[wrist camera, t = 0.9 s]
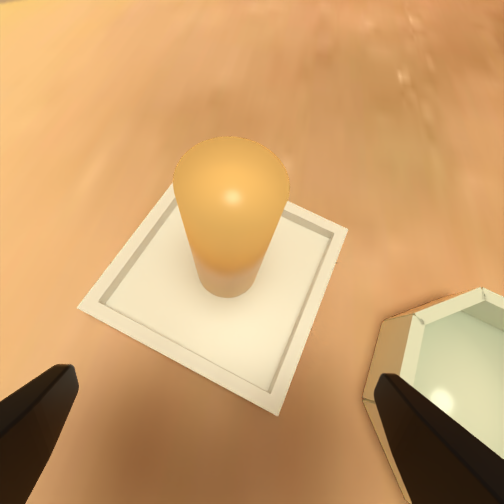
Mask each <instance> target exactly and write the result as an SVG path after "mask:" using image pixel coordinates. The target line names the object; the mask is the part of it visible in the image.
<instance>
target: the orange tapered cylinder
mask: <svg viewBox="0 0 504 504" xmlns="http://www.w3.org/2000/svg"><path fill="white" fill-rule="evenodd" d="M173 189H174V194H175V198H176V201H177V204H178V208H179V211H180V215H181V218H182V221H183V225H184V228H185V232H186V235H187V239H188V242H189V245H190V249H191V252H192V256H193V259H194V262H195V266H196V269H197V273H198V276H199V279H200V282H201V283H202V285H203V286H204V288H205V289H206V290H207V291H209V292H210V293H212V294H213V295H215V296H218V297H223V298H232V297H237V296H239V295H241V294H243V293H245V292H246V291H247V290H248V289H249V288H250V287H251V286H252V284H253V283H254V281H255V278H256V276H257V273H258V271H259V269H260V266H261V264H262V261H263V259H264V256H265V254H266V252H267V249H268V247H269V244H270V242H271V239H272V237H273V235H274V232H275V230H276V227H277V225H278V222H279V220H280V218H281V215H282V213H283V210H284V208H285V205H286V203H287V201H288V197H289V191H290V183H289V177H288V174H287V171H286V169H285V167H284V165H283V164H282V162H281V161H280V160H279V158H278V157H277V156H276V155H275V154H274V153H273V152H272V151H270V150H269V149H268V148H266V147H265V146H263V145H261V144H259V143H257V142H254V141H252V140H249V139H245V138H240V137H231V136H229V137H216V138H212V139H208V140H206V141H203V142H201V143H199V144H197V145H195V146H194V147H192V148H191V149H189V150H188V151H187V152H186V153H185V154H184V155H183V156H182V158H181V159H180V161H179V162H178V164H177V166H176V168H175V172H174V176H173Z"/></svg>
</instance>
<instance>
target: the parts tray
mask: <svg viewBox="0 0 504 504" xmlns="http://www.w3.org/2000/svg"><path fill="white" fill-rule="evenodd" d="M347 231H348V229H346V228H344V227H342V226H340V225H338V224H336V223H334V222H332V221H329V220H327V219H325V218H323V217H321V216H319V215H317V214H314V213H312V212H310V211H308V210H306V209H304V208H302V207H299V206H297V205H295V204H293V203H291V202H289V201H287V203H286V205H285V208H284V210H283V213H282V215H281V218H280V220H279V222H278V225H277V227H276V230H275V232H274V235H273V237H272V239H271V242H270V244H269V247H268V249H267V252H266V254H265V256H264V259H263V261H262V264H261V266H260V269H259V271H258V273H257V276H256V278H255V281H254V283H253V284H252V286H251V287H250V288H249V289H248V290H247V291H246V292H245V293H243V294H241V295H239V296H237V297H232V298H223V297H218V296H215V295H213V294H212V293H210V292H209V291H207V290H206V289H205V288H204V286H203V285H202V283H201V282H200V279H199V276H198V273H197V269H196V266H195V262H194V259H193V256H192V252H191V249H190V245H189V242H188V239H187V235H186V232H185V228H184V225H183V221H182V218H181V215H180V211H179V208H178V204H177V201H176V198H175V194H174V189H173V183H172V184H171V185H170V187H169V188H168V189H167V191H166V192H165V193H164V194H163V196H162V197H161V198H160V200H159V201H158V202H157V204H156V205H155V206H154V208H153V209H152V210H151V211H150V213H149V214H148V215H147V217H146V218H145V219H144V221H143V222H142V223H141V224H140V226H139V227H138V228H137V230H136V231H135V232H134V234H133V235H132V236H131V238H130V239H129V240H128V241H127V243H126V244H125V245H124V247H123V248H122V249H121V251H120V252H119V253H118V254H117V256H116V257H115V258H114V260H113V261H112V262H111V264H110V265H109V266H108V268H107V269H106V270H105V271H104V273H103V274H102V275H101V277H100V278H99V279H98V281H97V282H96V283H95V285H94V286H93V287H92V288H91V290H90V291H89V292H88V294H87V295H86V296H85V298H84V299H83V300H82V301H81V303H80V304H79V305H78V307H77V308H78V309H80V310H82V311H83V312H85V313H87V314H89V315H91V316H93V317H95V318H96V319H98V320H100V321H102V322H104V323H106V324H108V325H109V326H111V327H113V328H115V329H117V330H119V331H120V332H122V333H124V334H126V335H128V336H130V337H132V338H133V339H135V340H137V341H139V342H141V343H143V344H145V345H146V346H148V347H150V348H152V349H154V350H156V351H158V352H159V353H161V354H163V355H165V356H167V357H169V358H170V359H172V360H174V361H176V362H178V363H180V364H182V365H183V366H185V367H187V368H189V369H191V370H193V371H195V372H196V373H198V374H200V375H202V376H204V377H206V378H207V379H209V380H211V381H213V382H215V383H217V384H219V385H220V386H222V387H224V388H226V389H228V390H230V391H232V392H233V393H235V394H237V395H239V396H241V397H243V398H244V399H246V400H248V401H250V402H252V403H254V404H256V405H257V406H259V407H261V408H263V409H265V410H267V411H269V412H270V413H272V414H274V415H276V416H278V415H279V413H280V410H281V407H282V405H283V402H284V399H285V397H286V394H287V391H288V389H289V386H290V383H291V381H292V378H293V375H294V373H295V370H296V367H297V365H298V362H299V359H300V357H301V354H302V351H303V349H304V346H305V343H306V341H307V338H308V335H309V333H310V330H311V327H312V325H313V322H314V319H315V317H316V314H317V311H318V309H319V306H320V303H321V301H322V298H323V295H324V293H325V290H326V287H327V285H328V282H329V279H330V277H331V274H332V271H333V269H334V266H335V263H336V261H337V258H338V255H339V253H340V250H341V247H342V245H343V242H344V239H345V237H346V234H347Z"/></svg>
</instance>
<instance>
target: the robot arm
mask: <svg viewBox="0 0 504 504" xmlns="http://www.w3.org/2000/svg"><path fill="white" fill-rule="evenodd" d="M78 388H79V384H78V380H77V376H76V372H75V368H74V366H73V365H71V364H57V365H54V366H53V367H51V368H50V369H48V370H47V371H45V372H44V373H42V374H41V375H39V376H38V377H36V378H35V379H33V380H32V381H30V382H29V383H27V384H26V385H24V386H23V387H21V388H20V389H18V390H17V391H15V392H14V393H12V394H11V395H9V396H8V397H6V398H5V399H3V400H2V401H0V504H25V503H26V501H27V499H28V497H29V496H30V494H31V492H32V490H33V488H34V486H35V484H36V482H37V481H38V479H39V477H40V475H41V473H42V471H43V469H44V467H45V466H46V464H47V462H48V460H49V458H50V456H51V454H52V451H53V449H54V447H55V445H56V442H57V440H58V438H59V435H60V433H61V431H62V428H63V426H64V424H65V421H66V419H67V417H68V414H69V412H70V410H71V407H72V405H73V402H74V400H75V398H76V395H77V393H78ZM374 400H375V403H376V407H377V410H378V413H379V416H380V419H381V422H382V425H383V429H384V432H385V435H386V438H387V441H388V444H389V447H390V450H391V453H392V456H393V458H394V461H395V464H396V466H397V468H398V471H399V473H400V476H401V478H402V481H403V483H404V485H405V488H406V490H407V493H408V495H409V497H410V500H411V502H412V504H504V459H503V458H501V457H500V456H499V455H498V454H496V453H495V452H494V451H493V450H491V449H490V448H489V447H488V446H486V445H485V444H484V443H483V442H481V441H480V440H479V439H478V438H476V437H475V436H474V435H473V434H471V433H470V432H469V431H468V430H466V429H465V428H464V427H463V426H461V425H460V424H459V423H458V422H456V421H455V420H454V419H452V418H451V417H450V416H449V415H447V414H446V413H445V412H444V411H442V410H441V409H440V408H439V407H437V406H436V405H435V404H434V403H432V402H431V401H430V400H429V399H427V398H426V397H425V396H424V395H422V394H421V393H420V392H419V391H417V390H416V389H415V388H414V387H412V386H411V385H410V384H409V383H407V382H406V381H405V380H404V379H402V378H401V377H400V376H398V375H397V374H395V373H382V374H381V375H380V377H379V379H378V382H377V384H376V387H375V389H374Z"/></svg>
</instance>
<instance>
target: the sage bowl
mask: <svg viewBox="0 0 504 504" xmlns="http://www.w3.org/2000/svg"><path fill="white" fill-rule="evenodd" d="M382 373H395V374H397V375H398V376H400V377H401V378H402V379H404V380H405V381H406V382H407V383H409V384H410V385H411V386H412V387H414V388H415V389H416V390H417V391H419V392H420V393H421V394H422V395H424V396H425V397H426V398H427V399H429V400H430V401H431V402H432V403H434V404H435V405H436V406H437V407H439V408H440V409H441V410H442V411H444V412H445V413H446V414H447V415H449V416H450V417H451V418H452V419H454V420H455V421H456V422H458V423H459V424H460V425H461V426H463V427H464V428H465V429H466V430H468V431H469V432H470V433H471V434H473V435H474V436H475V437H476V438H478V439H479V440H480V441H481V442H483V443H484V444H485V445H486V446H488V447H489V448H490V449H491V450H493V451H494V452H495V453H496V454H498V455H499V456H500V457H501V458H503V459H504V297H503V296H500V295H498V294H496V293H494V292H492V291H490V290H488V289H485V288H483V287H482V288H481V287H479V288H475V289H472V290H468V291H464V292H461V293H457V294H453V295H450V296H446V297H443V298H440V299H437V300H434V301H432V302H429V303H427V304H424V305H422V306H419V307H416V308H414V309H411V310H409V311H406V312H404V313H401V314H398V315H396V316H393V317H391V318H388V319H385V320H384V322H382V324H381V328H380V332H379V336H378V339H377V343H376V347H375V351H374V354H373V358H372V362H371V366H370V369H369V373H368V377H367V381H366V384H365V388H364V392H363V396H362V398H364V400H362V401H363V403H364V406H365V408H366V410H367V413H368V415H369V417H370V420H371V422H372V424H373V426H374V429H375V431H376V433H377V436H378V438H379V440H380V443H381V445H382V447H383V450H384V452H385V454H386V457H387V459H388V461H389V464H390V466H391V468H392V471H393V473H394V475H395V477H396V480H397V482H398V484H399V487H400V489H401V491H402V494H403V496H404V498H405V500H407V502H408V503H409V504H412V502H411V500H410V497H409V495H408V493H407V490H406V488H405V485H404V483H403V481H402V478H401V476H400V473H399V471H398V468H397V466H396V464H395V461H394V458H393V456H392V453H391V450H390V447H389V444H388V441H387V438H386V435H385V432H384V429H383V425H382V422H381V419H380V416H379V413H378V410H377V407H376V403H375V400H374V389H375V387H376V384H377V382H378V379H379V377H380V375H381V374H382Z"/></svg>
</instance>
